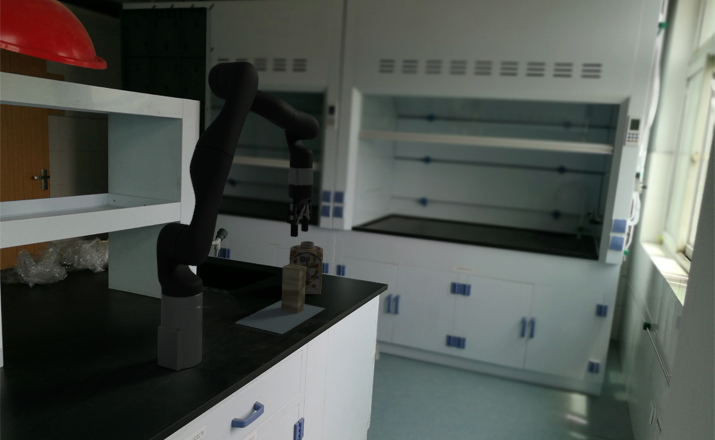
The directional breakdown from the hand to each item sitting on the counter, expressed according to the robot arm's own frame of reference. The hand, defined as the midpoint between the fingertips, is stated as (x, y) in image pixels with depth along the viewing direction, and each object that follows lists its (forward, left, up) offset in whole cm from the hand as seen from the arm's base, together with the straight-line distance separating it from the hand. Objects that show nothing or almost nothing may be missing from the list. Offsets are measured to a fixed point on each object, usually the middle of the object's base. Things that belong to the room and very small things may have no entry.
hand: (299, 234), depth 162 cm
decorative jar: (+19, +8, -25) cm, 33 cm away
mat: (-9, 0, -25) cm, 26 cm away
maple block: (-3, 0, -24) cm, 24 cm away
